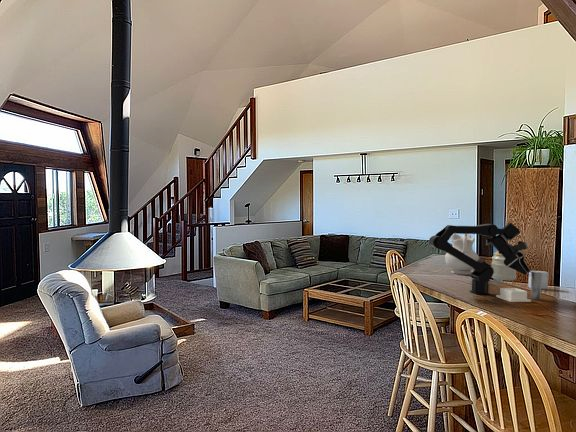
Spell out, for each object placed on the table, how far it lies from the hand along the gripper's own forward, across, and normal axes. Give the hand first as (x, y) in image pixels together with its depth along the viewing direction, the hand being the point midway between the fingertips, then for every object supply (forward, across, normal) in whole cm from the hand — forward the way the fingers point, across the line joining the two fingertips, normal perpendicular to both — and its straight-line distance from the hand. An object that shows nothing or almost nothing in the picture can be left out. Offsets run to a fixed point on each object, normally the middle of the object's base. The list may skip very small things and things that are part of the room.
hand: (528, 273), depth 199 cm
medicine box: (+8, +32, +8) cm, 34 cm away
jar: (-6, +52, +22) cm, 57 cm away
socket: (+5, -8, +11) cm, 14 cm away
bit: (+10, 0, +6) cm, 12 cm away
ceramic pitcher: (-22, +54, +38) cm, 70 cm away
